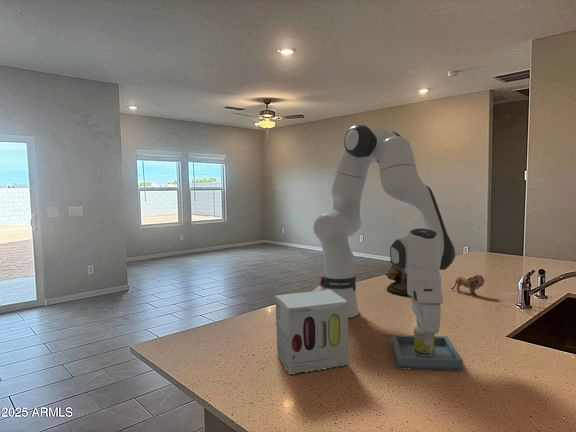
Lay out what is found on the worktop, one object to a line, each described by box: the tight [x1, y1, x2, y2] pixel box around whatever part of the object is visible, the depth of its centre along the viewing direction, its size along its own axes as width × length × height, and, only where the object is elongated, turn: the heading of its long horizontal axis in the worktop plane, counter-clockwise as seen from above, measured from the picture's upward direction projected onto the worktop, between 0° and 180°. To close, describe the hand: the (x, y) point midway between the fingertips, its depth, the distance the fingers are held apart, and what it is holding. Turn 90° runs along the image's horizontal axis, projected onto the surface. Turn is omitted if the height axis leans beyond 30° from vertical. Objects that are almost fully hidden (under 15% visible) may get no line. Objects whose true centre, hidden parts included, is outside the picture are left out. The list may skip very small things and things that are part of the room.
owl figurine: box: [384, 259, 412, 298], centre depth 172 cm, size 18×12×17 cm, turn 39°
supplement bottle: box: [413, 318, 436, 357], centre depth 109 cm, size 5×5×10 cm
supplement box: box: [275, 289, 350, 375], centre depth 108 cm, size 17×13×18 cm
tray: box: [391, 334, 464, 372], centre depth 109 cm, size 16×16×3 cm
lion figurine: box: [450, 274, 486, 297], centre depth 166 cm, size 15×5×9 cm, turn 37°
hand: (424, 336), depth 108 cm, fingers open, 8 cm apart
